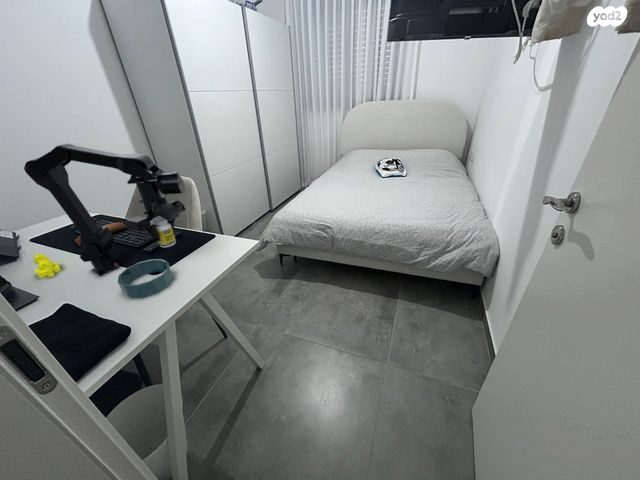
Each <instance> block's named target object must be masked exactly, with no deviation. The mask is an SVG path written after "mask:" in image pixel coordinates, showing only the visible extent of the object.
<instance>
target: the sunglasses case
mask: <svg viewBox="0 0 640 480" xmlns="http://www.w3.org/2000/svg"><path fill="white" fill-rule="evenodd" d="M101 227H102V228H105V227H108V228H109V231H110V232H111V234H113V233H116V232H119V231H122V230H128V228H127V226H126V223H124V222H122V221H121V222H120V221H119V222H112V223H108V224H106V225H103V226H101ZM74 242H75V243H76V244H77V245H78V246H80V247H81V246H82V243H81V239H80V235H79V236H78V237H76V239H74Z"/></svg>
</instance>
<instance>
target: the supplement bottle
mask: <svg viewBox="0 0 640 480" xmlns="http://www.w3.org/2000/svg"><path fill="white" fill-rule="evenodd" d="M153 223H154V224H157V227H156V229H157V232H158V234H159V237H160V241H157V243H158V245H159V247H160V248H170V247H173V246H174V245H176V243H177V239H176V237H175V232H174V233H173V230H172V227H171V225H170V224H169V223H167V220H165V219H164V218H162V217H159V218H157V219H155V220H153Z"/></svg>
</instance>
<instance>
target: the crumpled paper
mask: <svg viewBox="0 0 640 480" xmlns="http://www.w3.org/2000/svg"><path fill="white" fill-rule="evenodd" d="M33 263H34V264H36V265H37V268H36V269H34V271H35V274H36V275H37V277H38V278H39V279H42V278H44V277H48V278H52V277H55V276H56V274H55V273H57V272H61V271H62V269H61V266H60V265H59V263H58V262H57V261H52V260H50V259H49V257H48V256H47V255H44V254H42V253H38V252H37V253H36V254H35V256H34V258H33Z"/></svg>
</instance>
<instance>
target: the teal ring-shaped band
mask: <svg viewBox="0 0 640 480" xmlns="http://www.w3.org/2000/svg"><path fill="white" fill-rule="evenodd" d="M153 273H161V274H160V275H158V276H156V277H154V278H153V279H151V280H147V281H145V282H142V283H137V284H132V283H133V282H134V281H135V280H138V279H139V278H141V277H143V276H145V275H149V274H153ZM174 279H175V278H174V274H173V271H172V267H171V265H170V262H169V261H167V260H164V259H162V258H154V259H147V260H143V261H139V262H136V263H135V264H133V265H130V266H128V267H127V268H125V269H124V270H123V271H122V272H121V273H120V274H118V278H117V283H118V285H119V287H120V289H121V291H122V293H123V295H125V297H127V298H129V299H145V298H148V297H151V296H154V295H158V294H159V293H161V292H163V290H165V289H167V288H168V287H169V286H170V285H171V284H172V282H173V281H174Z"/></svg>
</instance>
